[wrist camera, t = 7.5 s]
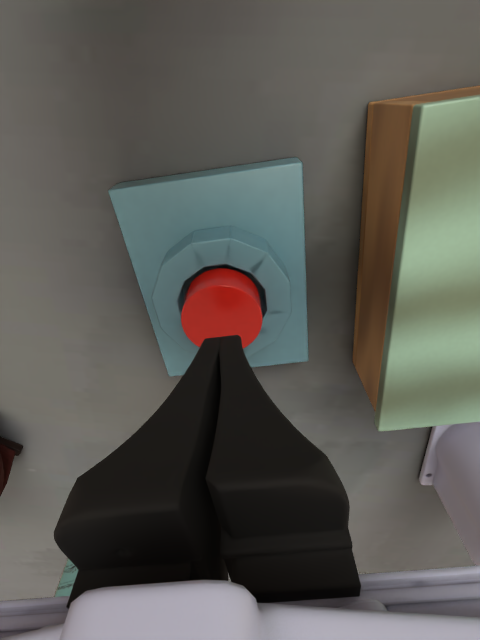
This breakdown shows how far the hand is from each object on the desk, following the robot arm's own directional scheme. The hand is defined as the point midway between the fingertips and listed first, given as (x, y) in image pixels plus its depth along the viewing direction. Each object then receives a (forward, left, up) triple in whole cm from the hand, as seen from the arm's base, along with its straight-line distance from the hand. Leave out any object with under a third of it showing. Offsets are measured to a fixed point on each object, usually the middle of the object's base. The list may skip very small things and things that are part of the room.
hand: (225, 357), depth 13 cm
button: (0, 0, -4) cm, 4 cm away
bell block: (0, 0, -7) cm, 7 cm away
